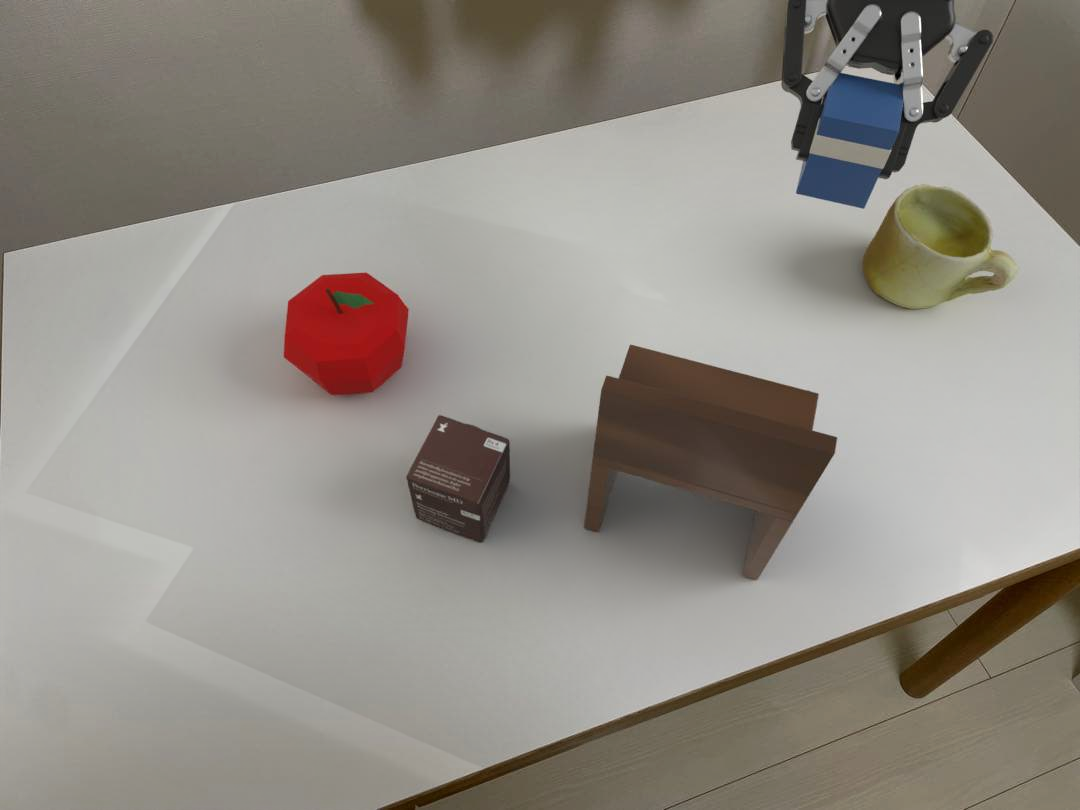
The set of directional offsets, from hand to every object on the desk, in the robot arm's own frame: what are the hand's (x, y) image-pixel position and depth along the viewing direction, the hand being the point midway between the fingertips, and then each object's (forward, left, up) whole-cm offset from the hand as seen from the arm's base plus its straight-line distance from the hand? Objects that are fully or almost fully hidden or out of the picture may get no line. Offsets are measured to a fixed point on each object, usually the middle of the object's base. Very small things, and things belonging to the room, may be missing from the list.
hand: (842, 167), depth 60 cm
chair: (+16, +10, -21) cm, 28 cm away
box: (+32, +2, -21) cm, 38 cm away
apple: (+35, -15, -21) cm, 44 cm away
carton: (-1, -1, -3) cm, 3 cm away
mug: (-17, +1, -21) cm, 27 cm away
